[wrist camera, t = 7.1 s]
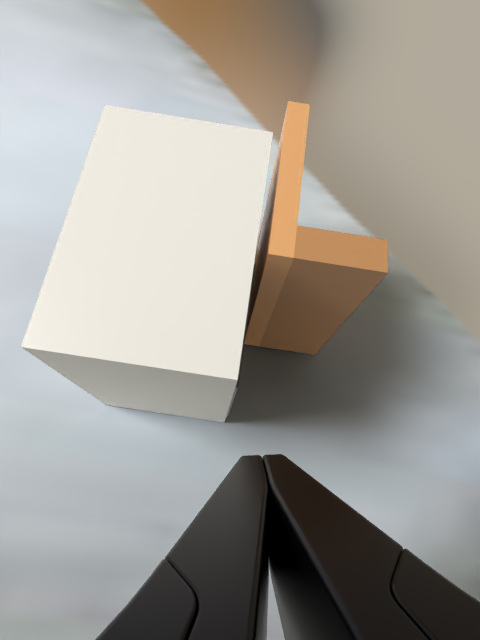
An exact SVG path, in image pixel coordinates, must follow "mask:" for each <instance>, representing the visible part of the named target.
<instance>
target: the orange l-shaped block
mask: <svg viewBox="0 0 480 640" xmlns="http://www.w3.org/2000/svg"><path fill="white" fill-rule="evenodd" d="M309 106H310V105H309V104H303V103H297V102H290V101H288V105H287V109H286V114H285V119H284V123H283V128H282V133H281V137H280V142H279V147H278V151H277V156H276V161H275V165H274V170H273V175H272V179H271V184H270V189H269V193H268V198H267V203H266V207H265V212H264V217H263V222H262V226H261V231H260V236H259V241H258V248H257V255H256V262H255V271H254V278H253V285H252V292H251V299H250V306H249V313H248V320H247V327H246V334H245V342H244V344H247V345H254V346H260V347H267V348H273V349H280V350H286V351H292V352H299V353H305V354H312V355H315V354H316V353H317V352H318V351H319V350H320V349H321V347H322V346H323V345H324V344H325V343H326V342H327V341H328V340H329V338H330V337H331V336H332V335H333V334H334V333H335V332H336V331H337V329H338V328H339V327H340V326H341V325H342V324H343V323H344V322H345V320H346V319H347V318H348V317H349V316H350V315H351V314H352V313H353V311H354V310H355V309H356V308H357V307H358V306H359V305H360V304H361V302H362V301H363V300H364V299H365V298H366V297H367V296H368V295H369V293H370V292H371V291H372V290H373V289H374V288H375V287H376V286H377V284H378V283H379V282H380V281H381V280H382V279H383V278H384V277H385V275H386V274H387V273H388V240H384V239H378V238H372V237H366V236H359V235H353V234H347V233H341V232H334V231H328V230H322V229H316V228H309V227H303V226H297V221H298V212H299V202H300V192H301V183H302V173H303V164H304V153H305V144H306V135H307V125H308V115H309Z"/></svg>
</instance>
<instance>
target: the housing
mask: <svg viewBox="0 0 480 640" xmlns="http://www.w3.org/2000/svg"><path fill="white" fill-rule="evenodd" d="M272 135H273V132H267V131H261V130H255V129H249V128H243V127H237V126H231V125H225V124H219V123H213V122H206V121H200V120H194V119H188V118H182V117H176V116H170V115H164V114H158V113H152V112H145V111H139V110H133V109H127V108H121V107H115V106H109V105H104V108H103V111H102V114H101V117H100V120H99V123H98V126H97V129H96V131H95V134H94V137H93V140H92V143H91V146H90V149H89V152H88V155H87V158H86V160H85V163H84V166H83V169H82V172H81V175H80V178H79V181H78V184H77V186H76V189H75V192H74V195H73V198H72V201H71V204H70V207H69V210H68V213H67V215H66V218H65V221H64V224H63V227H62V230H61V233H60V236H59V239H58V242H57V244H56V247H55V250H54V253H53V256H52V259H51V262H50V265H49V268H48V270H47V273H46V276H45V279H44V282H43V285H42V288H41V291H40V294H39V297H38V299H37V302H36V305H35V308H34V311H33V314H32V317H31V320H30V323H29V326H28V328H27V331H26V334H25V337H24V340H23V343H22V346H21V347H22V348H23V349H25V350H26V351H28V352H29V353H31V354H32V355H34V356H35V357H37V358H38V359H39V360H41V361H42V362H44V363H45V364H47V365H48V366H50V367H51V368H53V369H54V370H56V371H57V372H59V373H60V374H61V375H63V376H64V377H66V378H67V379H69V380H70V381H72V382H73V383H75V384H76V385H78V386H79V387H80V388H82V389H83V390H85V391H86V392H88V393H89V394H91V395H92V396H94V397H95V398H97V399H98V400H100V401H101V402H102V403H104V404H105V405H110V406H117V407H123V408H130V409H137V410H143V411H150V412H157V413H163V414H170V415H177V416H183V417H190V418H196V419H203V420H210V421H216V422H223V423H224V422H225V419H226V417H228V416H229V413H230V410H231V407H232V404H233V401H234V398H235V395H236V392H237V389H238V384H239V377H240V370H241V363H242V356H243V349H244V342H245V334H246V327H247V320H248V313H249V306H250V299H251V292H252V285H253V278H254V271H255V264H254V261H255V254H256V247H257V240H258V233H259V226H260V219H261V212H262V205H263V198H264V191H265V184H266V177H267V170H268V163H269V156H270V149H271V142H272Z"/></svg>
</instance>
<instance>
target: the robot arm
mask: <svg viewBox="0 0 480 640" xmlns="http://www.w3.org/2000/svg"><path fill="white" fill-rule="evenodd" d="M269 567H270V573H271V579H272V584H273V588H274V592H275V597H276V601H277V606H278V610H279V614H280V619H281V623H282V628H283V632H284V637H285V640H480V602H479V601H478V600H476V599H475V598H473V597H472V596H470V595H469V594H467V593H466V592H464V591H463V590H461V589H460V588H458V587H457V586H456V585H454V584H453V583H452V582H450V581H449V580H448V579H446V578H445V577H443V576H442V575H441V574H439V573H438V572H437V571H435V570H434V569H433V568H431V567H430V566H428V565H427V564H426V563H424V562H423V561H422V560H420V559H419V558H418V557H417V556H415V555H414V554H413V553H411V552H410V551H409V550H407V549H403V547H402V546H401V545H400V544H398V543H397V542H396V541H394V540H393V539H392V538H390V537H389V536H388V535H387V534H385V533H384V532H383V531H381V530H380V529H379V528H378V527H376V526H375V525H374V524H372V523H371V522H370V521H368V520H367V519H366V518H365V517H363V516H362V515H361V514H359V513H358V512H357V511H355V510H354V509H353V508H352V507H350V506H349V505H348V504H346V503H345V502H344V501H342V500H341V499H340V498H339V497H337V496H336V495H335V494H333V493H332V492H331V491H329V490H328V489H327V488H326V487H324V486H323V485H322V484H320V483H319V482H318V481H316V480H315V479H314V478H313V477H311V476H310V475H309V474H307V473H306V472H305V471H303V470H302V469H301V468H300V467H298V466H297V465H296V464H294V463H293V462H292V461H290V460H289V459H288V458H287V457H285V456H284V455H282V454H276V455H265V456H263V459H262V457H261V456H260V455H251V456H242V457H241V458H240V459H239V460H238V462H237V463H236V464H235V466H234V467H233V468H232V470H231V471H230V472H229V474H228V475H227V476H226V478H225V479H224V480H223V482H222V483H221V484H220V486H219V487H218V488H217V490H216V491H215V492H214V493H213V495H212V496H211V497H210V499H209V500H208V501H207V503H206V504H205V505H204V507H203V508H202V509H201V511H200V512H199V513H198V515H197V516H196V517H195V519H194V520H193V521H192V523H191V524H190V525H189V527H188V528H187V529H186V531H185V532H184V533H183V535H182V536H181V537H180V539H179V540H178V541H177V543H176V544H175V545H174V547H173V548H172V549H171V551H170V552H169V553H168V555H167V556H166V557H165V559H164V560H162V561H161V563H160V564H159V565H158V567H157V568H156V569H155V571H154V572H153V573H152V575H151V576H150V577H149V578H148V580H147V581H146V582H145V583H144V585H143V586H142V587H141V588H140V590H139V591H138V592H137V593H136V594H135V596H134V597H133V598H132V599H131V601H130V602H129V603H128V604H127V605H126V606H125V608H124V609H123V610H122V611H121V612H120V613H119V614H118V615H117V616H116V617H115V619H114V620H113V621H112V622H111V623H110V624H109V625H108V626H107V627H106V629H105V630H104V631H103V632H102V633H101V634H100V635H99V636H98V637H97V638H96V639H95V640H266V637H267V611H268V584H269Z"/></svg>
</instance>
